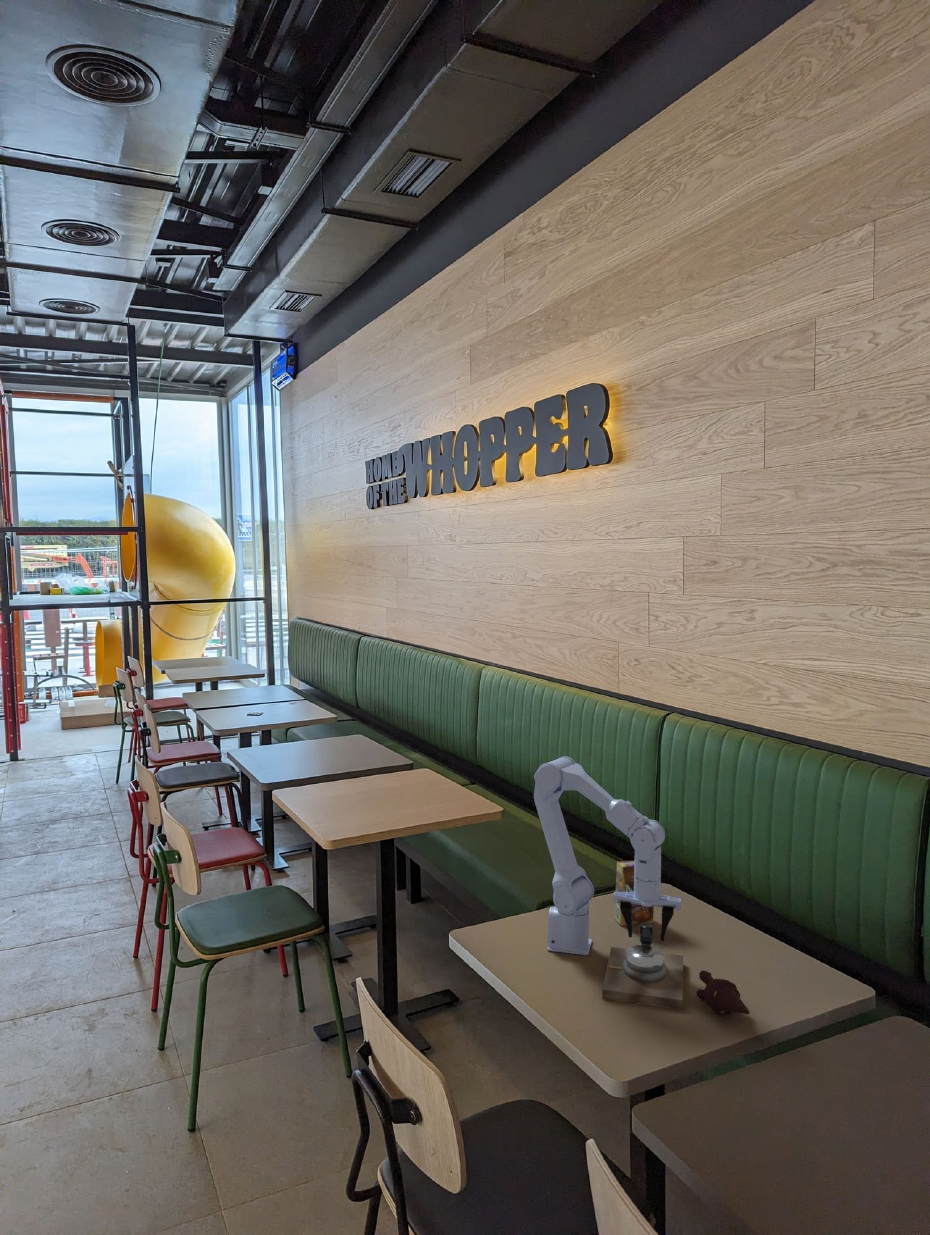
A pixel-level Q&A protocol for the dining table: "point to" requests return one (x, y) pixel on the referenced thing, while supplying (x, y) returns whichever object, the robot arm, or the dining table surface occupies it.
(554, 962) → the dining table surface
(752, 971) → the dining table surface
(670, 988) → the lock base
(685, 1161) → the dining table surface
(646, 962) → the grey disc with handle
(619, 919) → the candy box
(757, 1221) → the dining table surface
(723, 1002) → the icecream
